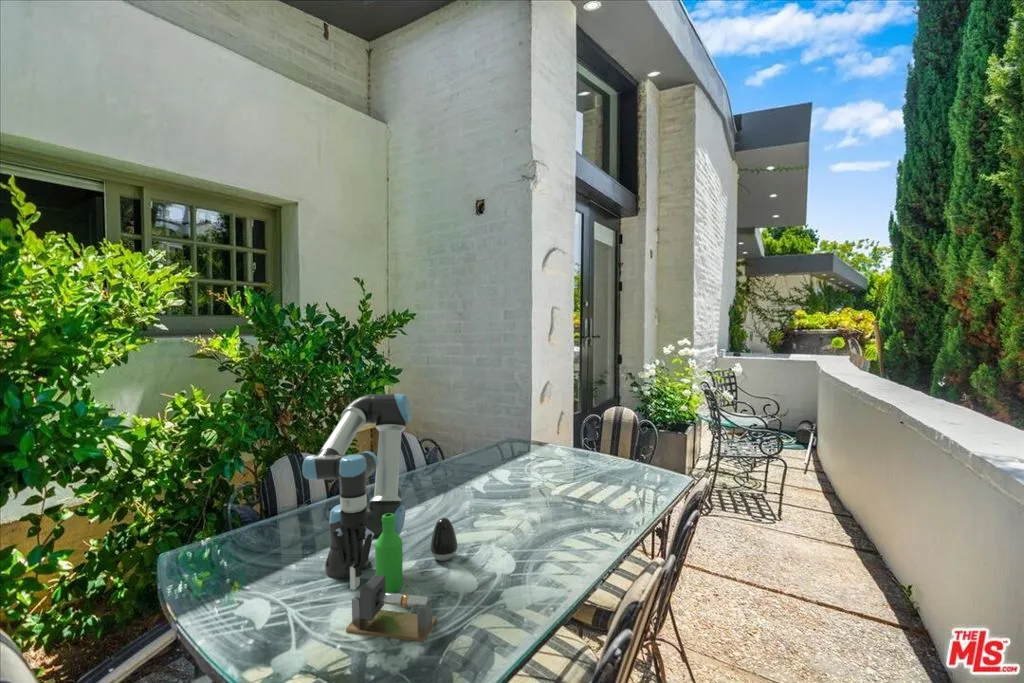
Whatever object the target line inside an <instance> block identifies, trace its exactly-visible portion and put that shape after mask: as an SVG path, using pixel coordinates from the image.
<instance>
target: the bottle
mask: <svg viewBox="0 0 1024 683" xmlns="http://www.w3.org/2000/svg"><path fill="white" fill-rule="evenodd" d="M394 520H395V515H394V514H392V513H387V514H384V515H383V516H382V519H381V521H382V528H383V532H382V534H381V535H380V537H379V538H378V540H376V542H375V544H374V548H375V549H374V550H375V551H374V552H375V556H374V557H375V561H374V562H375V575H383V576H385V588H386V592H388V593H397V592H398V591H400V589H401V588H402V587H403V586H404V585H403V584H404V581H403V580H404V578H403V577H404V576H403V575H404V573H403V571H404V570H403V565H404V563H403V539H402V538H401V537H400V535H399V536H398V534H397V533H396V532H395V530H394Z"/></svg>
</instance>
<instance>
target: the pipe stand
mask: <svg viewBox="0 0 1024 683" xmlns="http://www.w3.org/2000/svg"><path fill="white" fill-rule="evenodd" d="M360 589H361V588H359V589H357V590H356V592H355V596H354V597H353V598H351V617H352V618H351V621H350V623H349V624H348V625H347V626H346V627H345V632H346V633H352V634H360V635H365V636H366V635H368V636H376V637H382V638H383V637H384V638H389V639H397V640H404V641H411V642H413V641H414V642H420V643H424V642H425V641H426V639H427V637H428V636H429V634H430V633H431V631H432V629H433V628H434V626H435V624H436V622H437V620H438V616H435V615H433V598H432V597H429V596H424V595H423V596H421V595H414V594H406V593H397V592H394V593H388V592H380V591H378V592H377V593H376V594H375V603H381V604H385V605H391V606H398V607H399V606H400V607H404V608H415V609H416V608H417V610H416V611H417V613H413V612H411V613H409V612H404V611H403V612H402V611H395V610H385V609H380V611H379V612H378V613H377V614H376V616H375V617H374V618H373V619H372V620H367V619H360Z"/></svg>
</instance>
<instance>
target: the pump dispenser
mask: <svg viewBox="0 0 1024 683" xmlns="http://www.w3.org/2000/svg"><path fill="white" fill-rule="evenodd" d="M456 535H457V534H456V532H455V528H454V526H453V524H452V522H451V521H450V519H448V518H447V517H442V518H440V519H438V520H437V521H436V523H435V525H434V528H433V531H432V534H431V539H430V540H431V542H430V546H429V548H430V552H431V555H432V557H433V558H434V559H435V560H437V561H440V562H445V561H449V560H451V559H452V558H454V556H455V555H456V552H457V549H458V539H457V536H456Z"/></svg>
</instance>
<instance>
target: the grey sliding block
mask: <svg viewBox="0 0 1024 683" xmlns="http://www.w3.org/2000/svg"><path fill="white" fill-rule="evenodd" d="M359 589H360V619H367V620H372V619H373V618H374V617H375V616H376V614H377V613H378V612H379V611H380V610H382V609H383V607H384V606H385V605H386V604H381V603H375V594H376V593H377V592H378V591H380V592H386V588H385V576H383V575H376V574H374V575H372V577H370V579H369V580H368V581H367V582H366V583H365V584H364V585H363V586H362V587H361V588H359Z"/></svg>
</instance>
